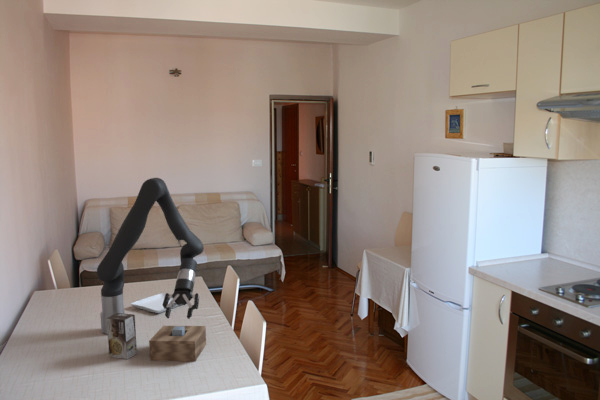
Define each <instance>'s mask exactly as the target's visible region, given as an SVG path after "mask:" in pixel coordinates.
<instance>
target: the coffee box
mask: <svg viewBox="0 0 600 400" xmlns="http://www.w3.org/2000/svg"><path fill="white" fill-rule="evenodd" d="M135 315H136V314H131V313H130V314H129V313H124V314H123V313H116V314H113V315H112V316H110V317H108V318H106V320H107V332H108V334H107V341H108V342H107V343H108V356H110V358H117V359H118V358H119V359H125V360H128V359H130V358H132V357H133V356H134V355H136V354H138V350H137V349H138V348H137V333H136V318H135Z"/></svg>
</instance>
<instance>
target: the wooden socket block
mask: <svg viewBox="0 0 600 400" xmlns="http://www.w3.org/2000/svg"><path fill="white" fill-rule="evenodd" d="M175 326H176V325H162V326H161V328H159V330H158V331H157V332H156V333H155V334H154V335H153V336H152V337H151V338H150V339H149V341H148V345H149V361H150V362H151V361H154V362H155V361H157V362H164V361H165V362H196V361H197V360H198V358H199V356H200V355H201V354H202V352H203V350H204V348H205V347H206V346H207V334H206V333H207V332H206V325H184V326H185V335H184V336H172V329H173V328H174V327H175Z"/></svg>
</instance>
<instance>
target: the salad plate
mask: <svg viewBox="0 0 600 400" xmlns="http://www.w3.org/2000/svg"><path fill="white" fill-rule="evenodd" d="M165 295H166V293H162V292H161V293H158V294H154V295H151V296H148V297H145V298H142V299H139V300H137V301H133V302H131V303H130V305H131V306H132V307H135V308H136V309H140V310H142V309H143V311H146V310H147V311H146V312H151V313H154V312H155V313H156V314H161V313H164V312H166V309H164V307H163V301H164V298H165ZM172 299H173V298H171V299H170V300H169V302H168V304H169V303H170V301H171V300H172ZM179 306H180V305H176V306H175V307H173V308H172V309H175V308H177V307H179Z"/></svg>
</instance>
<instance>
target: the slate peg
mask: <svg viewBox="0 0 600 400" xmlns="http://www.w3.org/2000/svg"><path fill="white" fill-rule="evenodd" d="M174 326H175V327H174V328H173V329H172V336H184V335H185V326H186V325H174Z"/></svg>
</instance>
